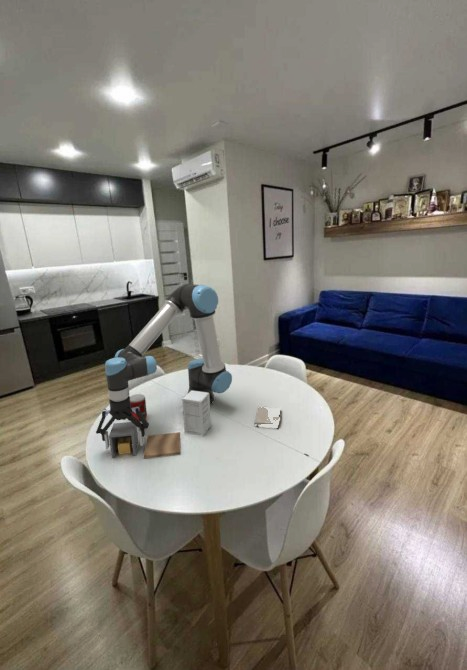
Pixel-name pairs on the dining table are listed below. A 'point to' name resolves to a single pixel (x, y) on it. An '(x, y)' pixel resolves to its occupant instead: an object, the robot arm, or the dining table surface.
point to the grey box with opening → (123, 436)
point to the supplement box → (196, 412)
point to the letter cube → (125, 445)
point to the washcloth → (263, 417)
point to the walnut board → (162, 445)
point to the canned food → (138, 404)
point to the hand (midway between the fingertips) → (125, 445)
